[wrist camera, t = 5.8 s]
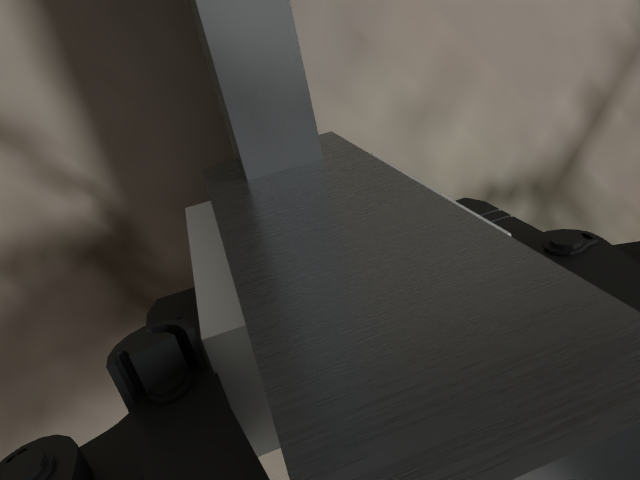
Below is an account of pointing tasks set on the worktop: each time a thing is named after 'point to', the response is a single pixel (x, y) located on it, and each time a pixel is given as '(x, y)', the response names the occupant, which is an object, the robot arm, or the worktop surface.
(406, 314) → the hook tool
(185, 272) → the worktop surface
